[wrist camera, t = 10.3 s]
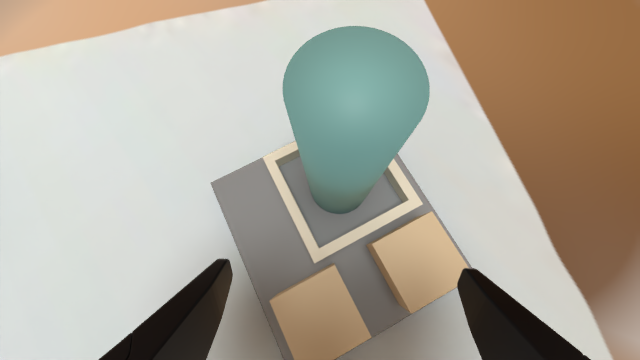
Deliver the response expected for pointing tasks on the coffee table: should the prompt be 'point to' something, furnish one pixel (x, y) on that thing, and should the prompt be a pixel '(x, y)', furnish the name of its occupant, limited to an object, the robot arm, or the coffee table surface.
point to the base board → (335, 254)
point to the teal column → (352, 109)
